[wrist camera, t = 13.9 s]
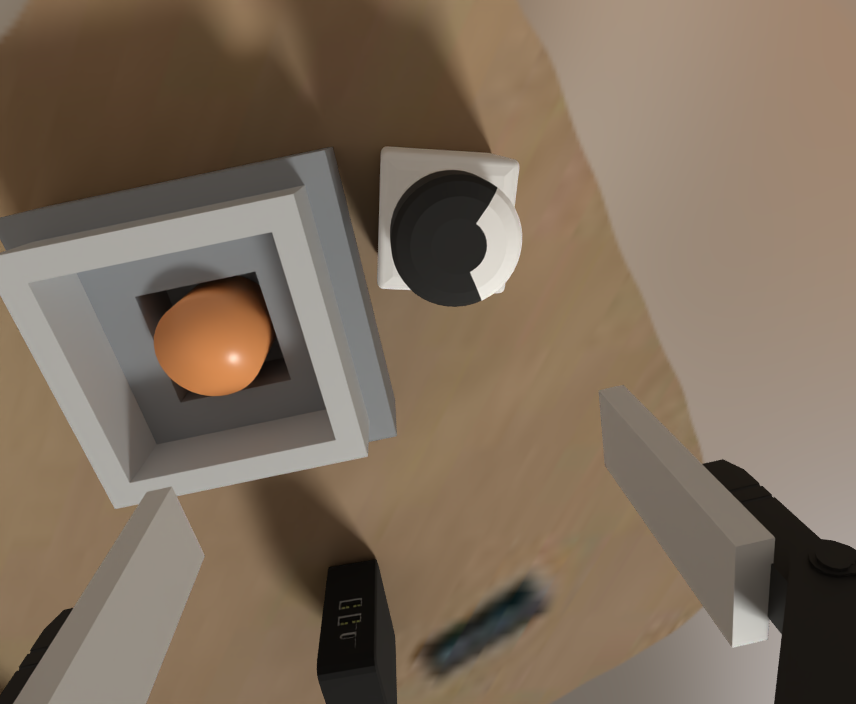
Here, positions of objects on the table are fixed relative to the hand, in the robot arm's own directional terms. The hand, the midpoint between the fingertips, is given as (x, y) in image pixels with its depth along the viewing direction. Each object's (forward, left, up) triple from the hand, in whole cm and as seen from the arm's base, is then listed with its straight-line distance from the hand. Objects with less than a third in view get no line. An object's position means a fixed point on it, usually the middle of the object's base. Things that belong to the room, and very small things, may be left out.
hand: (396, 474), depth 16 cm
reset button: (-10, 0, -21) cm, 23 cm away
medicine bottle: (+4, +4, -22) cm, 23 cm away
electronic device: (-8, -28, -22) cm, 37 cm away
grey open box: (-10, 0, -22) cm, 24 cm away
